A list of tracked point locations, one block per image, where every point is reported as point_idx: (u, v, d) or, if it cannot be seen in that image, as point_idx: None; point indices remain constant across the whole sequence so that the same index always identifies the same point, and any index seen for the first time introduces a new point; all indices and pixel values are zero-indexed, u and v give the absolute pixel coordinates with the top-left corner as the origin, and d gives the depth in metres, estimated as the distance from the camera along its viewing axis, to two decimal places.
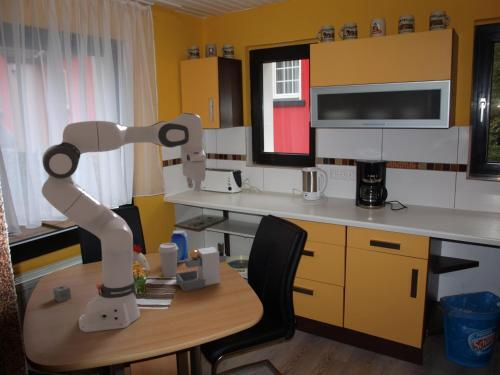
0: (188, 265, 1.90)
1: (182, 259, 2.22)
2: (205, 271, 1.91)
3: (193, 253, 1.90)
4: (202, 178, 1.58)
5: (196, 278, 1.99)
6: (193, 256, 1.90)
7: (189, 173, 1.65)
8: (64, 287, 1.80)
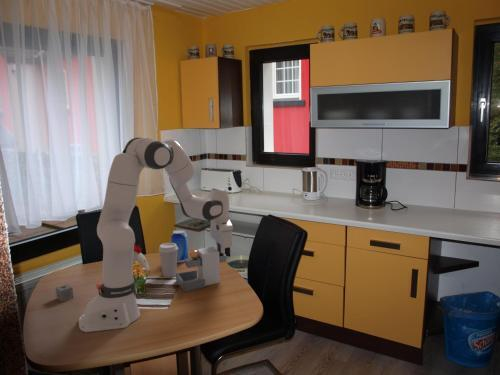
0: (188, 265, 1.90)
1: (182, 259, 2.22)
2: (205, 271, 1.91)
3: (193, 253, 1.90)
4: (229, 245, 1.87)
5: (196, 278, 1.99)
6: (193, 256, 1.90)
7: (217, 239, 1.94)
8: (66, 286, 1.81)
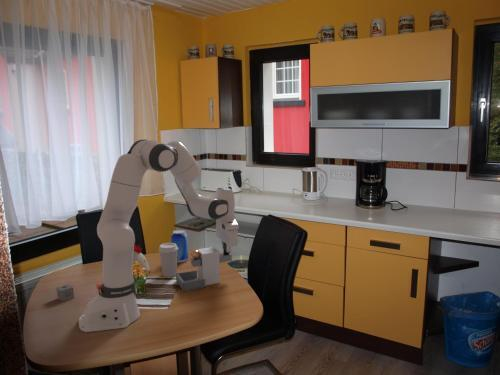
0: (194, 264, 1.91)
1: (182, 259, 2.22)
2: (205, 271, 1.91)
3: (193, 256, 1.91)
4: (235, 244, 1.88)
5: (196, 278, 1.99)
6: (196, 257, 1.91)
7: (223, 238, 1.95)
8: (67, 286, 1.81)
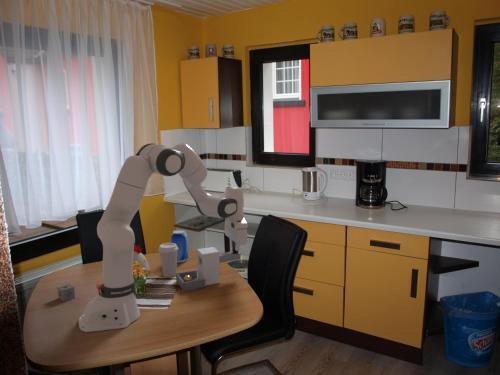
0: None
1: (182, 259, 2.22)
2: (205, 271, 1.91)
3: (189, 277, 1.91)
4: (244, 242, 1.90)
5: (196, 278, 1.99)
6: (186, 279, 1.91)
7: (232, 236, 1.97)
8: (68, 286, 1.81)
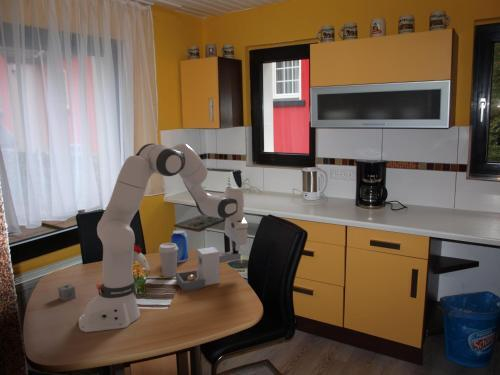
0: None
1: (182, 259, 2.22)
2: (205, 271, 1.91)
3: (194, 278, 1.92)
4: (244, 242, 1.90)
5: (196, 278, 1.99)
6: (192, 278, 1.92)
7: (232, 236, 1.97)
8: (69, 286, 1.81)
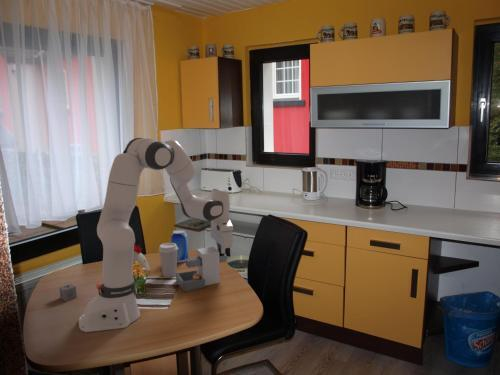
0: (188, 265, 1.90)
1: (182, 259, 2.22)
2: (205, 271, 1.91)
3: None
4: (230, 245, 1.88)
5: None
6: (199, 278, 1.93)
7: (218, 239, 1.94)
8: (70, 286, 1.81)
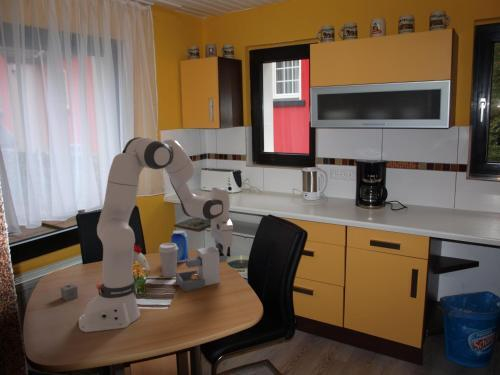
0: (188, 265, 1.90)
1: (182, 259, 2.22)
2: (205, 271, 1.91)
3: None
4: (230, 244, 1.87)
5: None
6: (197, 277, 1.93)
7: (218, 238, 1.94)
8: (71, 286, 1.82)
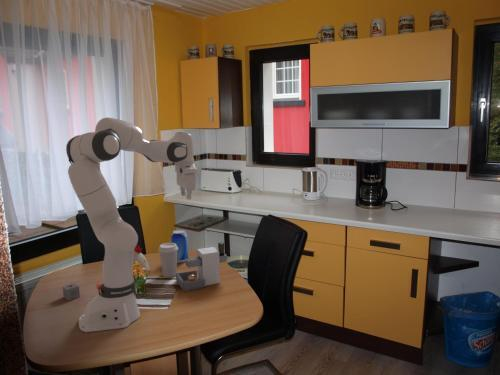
0: (188, 265, 1.90)
1: (182, 259, 2.22)
2: (205, 271, 1.91)
3: (195, 278, 1.93)
4: (193, 188, 1.86)
5: (196, 278, 1.99)
6: (193, 277, 1.92)
7: (182, 184, 1.93)
8: (73, 285, 1.82)
